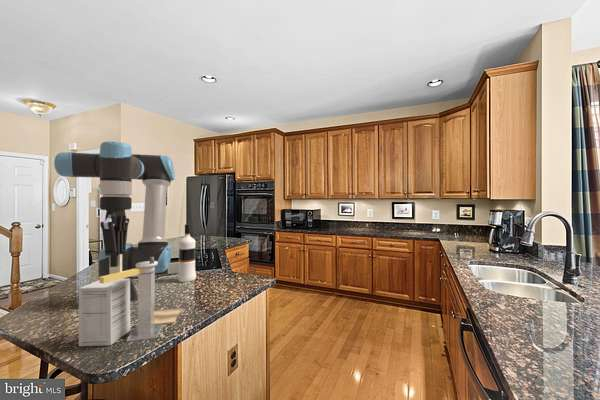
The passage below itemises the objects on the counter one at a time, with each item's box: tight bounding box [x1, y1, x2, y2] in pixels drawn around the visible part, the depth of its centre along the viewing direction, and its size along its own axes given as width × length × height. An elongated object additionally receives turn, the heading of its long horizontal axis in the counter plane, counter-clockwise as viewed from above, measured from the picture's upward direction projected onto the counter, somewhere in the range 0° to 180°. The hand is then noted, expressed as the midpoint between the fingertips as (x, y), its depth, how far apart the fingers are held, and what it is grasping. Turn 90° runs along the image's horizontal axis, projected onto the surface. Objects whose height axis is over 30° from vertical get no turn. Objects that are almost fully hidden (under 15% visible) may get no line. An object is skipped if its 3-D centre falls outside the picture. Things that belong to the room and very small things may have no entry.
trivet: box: [134, 307, 182, 329], centre depth 91 cm, size 12×12×1 cm
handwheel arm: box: [99, 257, 158, 284], centre depth 76 cm, size 6×16×5 cm, turn 159°
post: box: [126, 271, 165, 343], centre depth 81 cm, size 8×8×19 cm
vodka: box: [176, 223, 197, 283], centre depth 137 cm, size 9×9×30 cm
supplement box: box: [78, 279, 131, 347], centre depth 78 cm, size 10×9×17 cm
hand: (115, 277), depth 74 cm, fingers closed
